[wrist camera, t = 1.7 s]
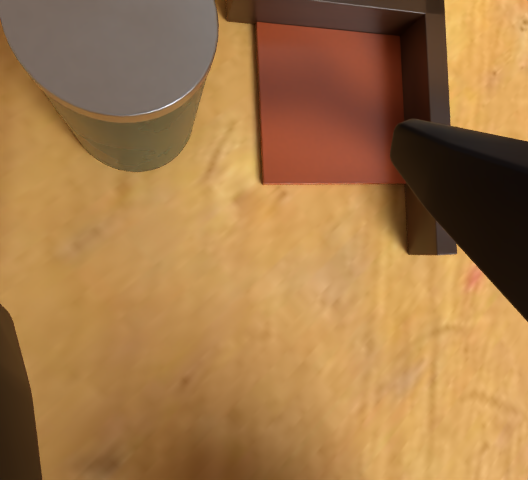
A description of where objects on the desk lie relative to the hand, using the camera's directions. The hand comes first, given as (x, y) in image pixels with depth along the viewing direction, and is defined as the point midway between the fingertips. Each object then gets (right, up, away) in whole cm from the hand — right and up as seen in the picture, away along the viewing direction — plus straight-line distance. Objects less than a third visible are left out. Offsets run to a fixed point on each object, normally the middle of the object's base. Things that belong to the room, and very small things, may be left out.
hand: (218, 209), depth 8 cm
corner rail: (+5, +5, +13) cm, 15 cm away
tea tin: (-5, +5, +11) cm, 13 cm away
